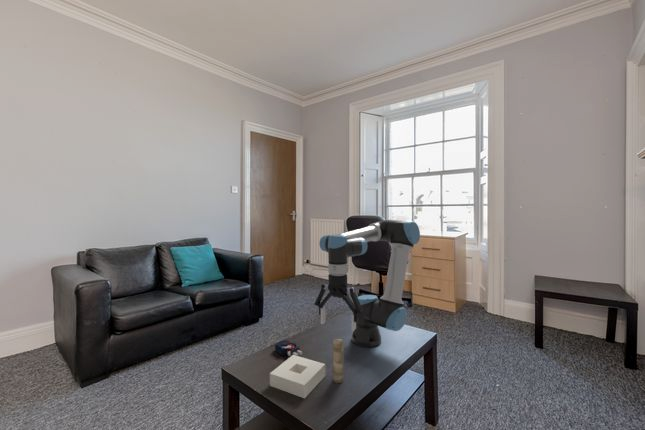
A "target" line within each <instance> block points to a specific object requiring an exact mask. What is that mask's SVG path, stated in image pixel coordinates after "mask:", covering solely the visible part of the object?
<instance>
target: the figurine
mask: <svg viewBox="0 0 645 430" xmlns="http://www.w3.org/2000/svg"><path fill="white" fill-rule="evenodd" d="M274 350H275V351H276V353H278V354H280V355H281V356H282V357H285V356H288V357H291V356H292V355H296V356H299V355H300V356H302V355H303V351H301V348H300V346H297V344H296V343H295V342H291V341H289V340H287V339H286V340H281V341H279V342H276V344H275V346H274Z"/></svg>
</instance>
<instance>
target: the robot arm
mask: <svg viewBox="0 0 645 430" xmlns="http://www.w3.org/2000/svg"><path fill="white" fill-rule="evenodd" d="M420 239H421V231H420V227H419V225H418V223H417V222H415V221H413V220H409V219H408V220H407V219H385V220H379V221H376V222H372V223H370V224H369V225H368V226H364V227H361V228H358V229H352V230H349V231H347V232H342V233H339V234H332V235H330V234H328V235H327V234H325V235H322V237H321V238H320V240H319V244H318V245H319V248H320V250H321V251H323V252H326V253H327V254H328V255H327V256H328V257H327V259H328V273H329V274H328V276H327V277H328V284H327V283H326V282H325V283H322V284H321V287H320V291H319V294H318V295H317V298H316V299H315V301H314V306H317V307H318V315H319V316H320V325H324V324H325V323H326V306H325V304H327V302H328V301H329V300H330V299H331V298H332V297H333V298H338V299H342V300H343V301H344V302H345V303H346V305H347V306H348V308H349V309H350V310H351V312H352V313H351V332H352V334H351V341H352V343H354V344H355V345H356V346H359V347H364V348H365V347H366V348H373V347H376V346H379V345H381V343H382V335H381V332H380V329H379V327H381V328H384V329H387V330H388V331H392V332H398V331H400V330H401V329H402V328H403V327H404V326H405V324H406V322H407V319H408V313H407V312H408V311H407V309H406V308H405V306H404V305H405V303H404V301H403V299H402V298H403V291H404V285H405V282H406V280H405V279H406V274H407V268H408V264H409V263H408V261H409V255H410V252H411V250H414V245H417V244H418V243H419V242H420ZM380 241H381V242H389V246H390V247H391V252H390V257H389V264H388V270H387V275H386V281H385V285H384V291H383V295H382V296H380V297H379V298H378V296H377V295H376V294H375V295H374V294H364V295H359V296H357V293H356V288H355V287H354V286H352V287H348V274H347V273H348V258H350V257H356V256H361V255H364V254H365V253H367V251H368V243H369V242H380ZM327 289H328V291H329V292H328V294H326V296H325V297H324V295H325V293H326V291H327ZM349 296H350V297H349ZM323 298H324V299H323Z"/></svg>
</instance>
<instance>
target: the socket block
mask: <svg viewBox="0 0 645 430" xmlns="http://www.w3.org/2000/svg"><path fill="white" fill-rule="evenodd" d="M325 377H326V363H323V362H319V361H315V360H313V359H309V358H306V357H302V356H299V355H298V356H296V355H292V356H289V357H288V358H287V359H286V360H284V361H283V362H282V363H281V364H280V365H279V366H276V368H275V369H274V370H272V371H271V372H269V386H270V387H272V388H275V389H278V390H280V391H283V392H285V393H286V392H287V393H289V394H292V395H293V396H294V395H295V396H297V397H300V398H302V399H306V397H307V396H309V395H310V393H311V392H312V391H313V390H314V389H315V388H316V387H317V386H318V384H319V383H320V382H321V381H323V379H324V378H325Z"/></svg>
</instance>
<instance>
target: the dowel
mask: <svg viewBox="0 0 645 430" xmlns="http://www.w3.org/2000/svg"><path fill="white" fill-rule="evenodd" d="M332 345H333V347H332V353H333V354H332V356H333V357H332V359H333V360H332V362H333V363H332V365H333V366H332V367H333V368H332V371H333V375H332V376H333V382H334V383H335V384H342V383H343V382H344V340H343V339H341V338H335V339H333V341H332Z"/></svg>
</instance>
